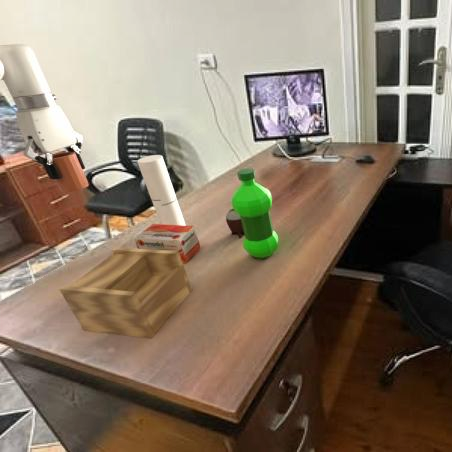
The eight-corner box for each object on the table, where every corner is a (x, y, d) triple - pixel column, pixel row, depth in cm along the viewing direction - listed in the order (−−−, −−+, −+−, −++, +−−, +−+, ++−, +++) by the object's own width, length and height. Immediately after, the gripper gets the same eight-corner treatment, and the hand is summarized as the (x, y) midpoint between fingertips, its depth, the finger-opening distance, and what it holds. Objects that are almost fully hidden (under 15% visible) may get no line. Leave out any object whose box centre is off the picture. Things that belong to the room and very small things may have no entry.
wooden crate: (83, 330, 79) (58, 288, 73) (132, 285, 93) (115, 247, 87) (151, 338, 75) (130, 295, 69) (192, 290, 89) (178, 250, 83)
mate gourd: (228, 239, 109) (216, 196, 102) (232, 227, 116) (221, 186, 109) (252, 237, 110) (242, 193, 102) (255, 225, 117) (245, 183, 109)
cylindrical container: (169, 225, 122) (144, 155, 110) (189, 223, 122) (166, 154, 109) (160, 235, 116) (132, 163, 104) (180, 234, 115) (155, 161, 103)
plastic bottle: (242, 249, 104) (222, 169, 91) (277, 240, 107) (262, 161, 94) (248, 267, 95) (226, 182, 83) (285, 256, 98) (270, 173, 86)
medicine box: (142, 260, 103) (132, 237, 99) (160, 245, 110) (151, 223, 106) (187, 263, 99) (178, 240, 96) (202, 248, 106) (195, 225, 102)
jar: (55, 192, 92) (38, 159, 88) (75, 183, 97) (61, 151, 93) (74, 192, 90) (59, 159, 86) (94, 183, 96) (80, 151, 92)
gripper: (55, 97, 92) (84, 163, 100) (-15, 110, 77) (25, 186, 85) (78, 96, 90) (105, 162, 99) (11, 109, 75) (50, 186, 84)
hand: (68, 173), depth 92 cm, fingers closed on jar, 6 cm apart
